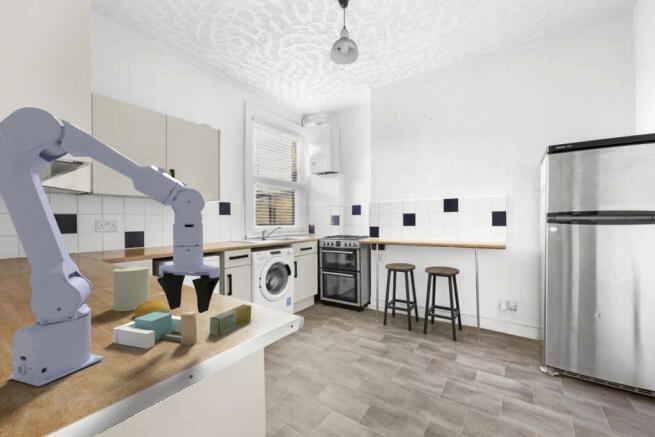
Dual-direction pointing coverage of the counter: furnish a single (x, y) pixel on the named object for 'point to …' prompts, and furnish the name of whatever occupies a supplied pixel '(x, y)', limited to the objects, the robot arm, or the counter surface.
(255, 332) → the counter surface
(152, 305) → the bread roll
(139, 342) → the white u-shaped bracket
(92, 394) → the counter surface
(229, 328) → the medication box
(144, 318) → the tethered block
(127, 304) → the can
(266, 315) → the counter surface
